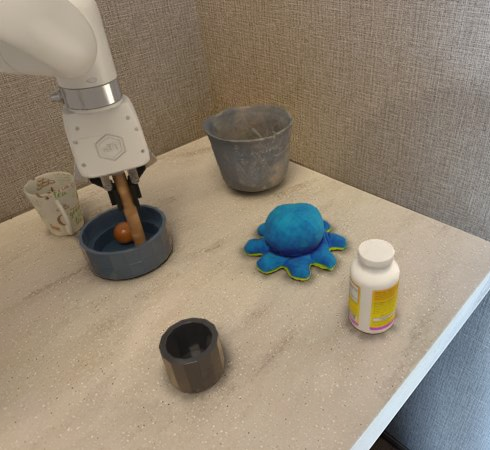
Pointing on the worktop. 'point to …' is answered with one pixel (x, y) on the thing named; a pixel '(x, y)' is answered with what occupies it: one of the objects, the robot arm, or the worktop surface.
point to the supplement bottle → (373, 287)
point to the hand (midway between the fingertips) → (128, 204)
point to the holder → (192, 355)
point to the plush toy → (295, 241)
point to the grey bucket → (251, 145)
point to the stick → (129, 207)
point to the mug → (56, 202)
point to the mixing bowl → (125, 255)
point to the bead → (123, 233)
